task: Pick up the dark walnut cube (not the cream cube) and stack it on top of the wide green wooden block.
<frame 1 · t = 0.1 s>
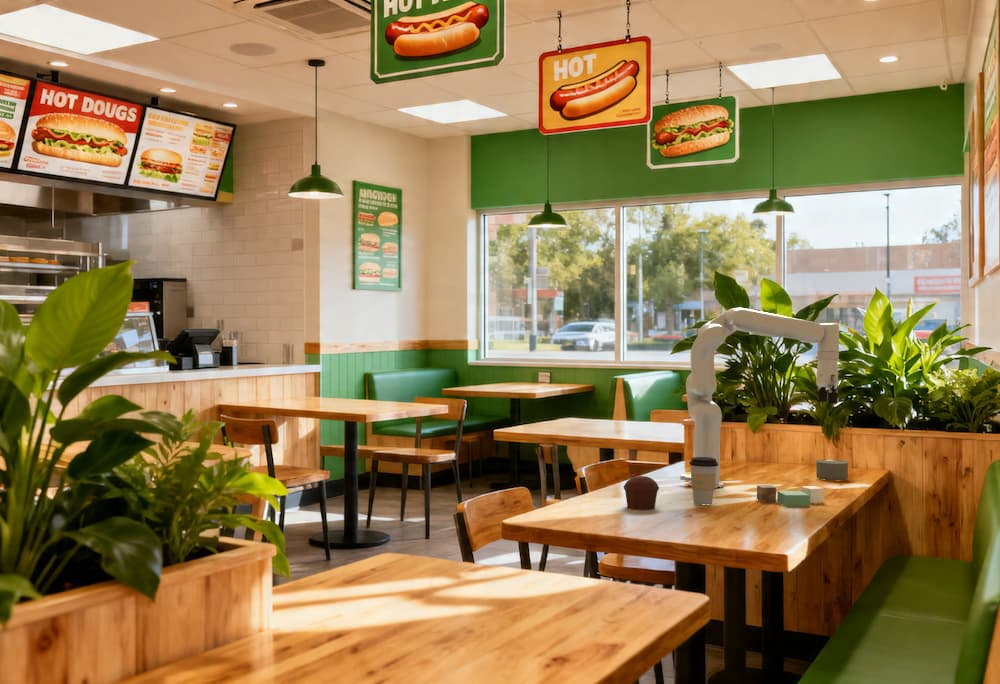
hand: (827, 402, 348), 31 cm above the table, tool pointing down, fingers open, 9 cm apart
green base: (793, 505, 312), on the table
can: (831, 479, 367), on the table
cream cube: (812, 502, 316), on the table
coffee cup: (703, 504, 311), on the table
muffin: (641, 508, 304), on the table
walnut cube: (766, 501, 318), on the table
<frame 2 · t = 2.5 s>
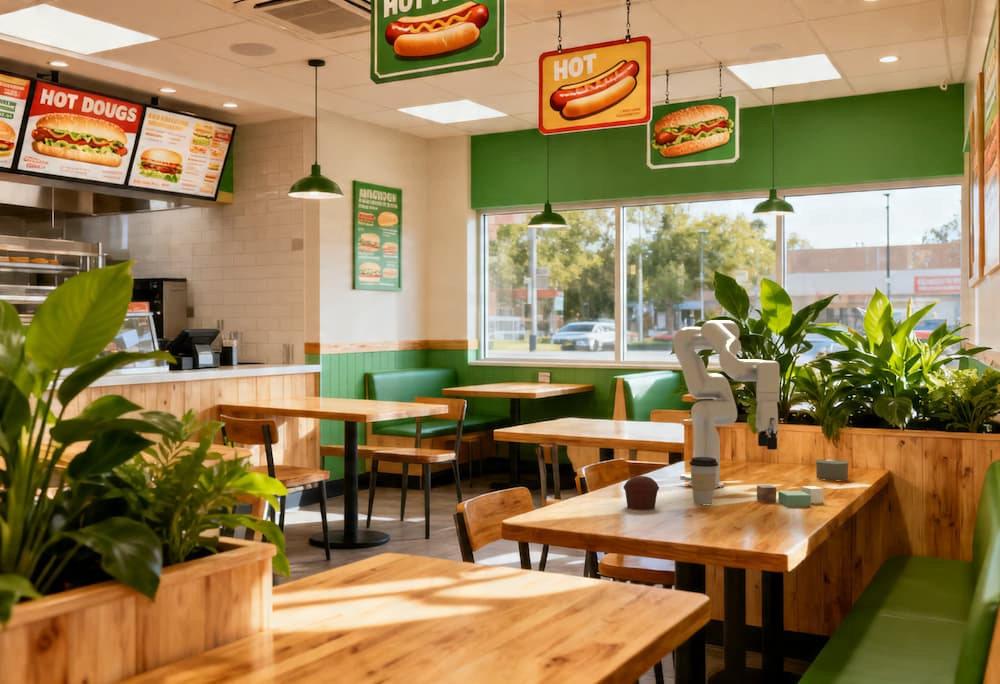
hand: (767, 447, 318), 18 cm above the table, tool pointing down, fingers open, 9 cm apart
nothing on the table moved.
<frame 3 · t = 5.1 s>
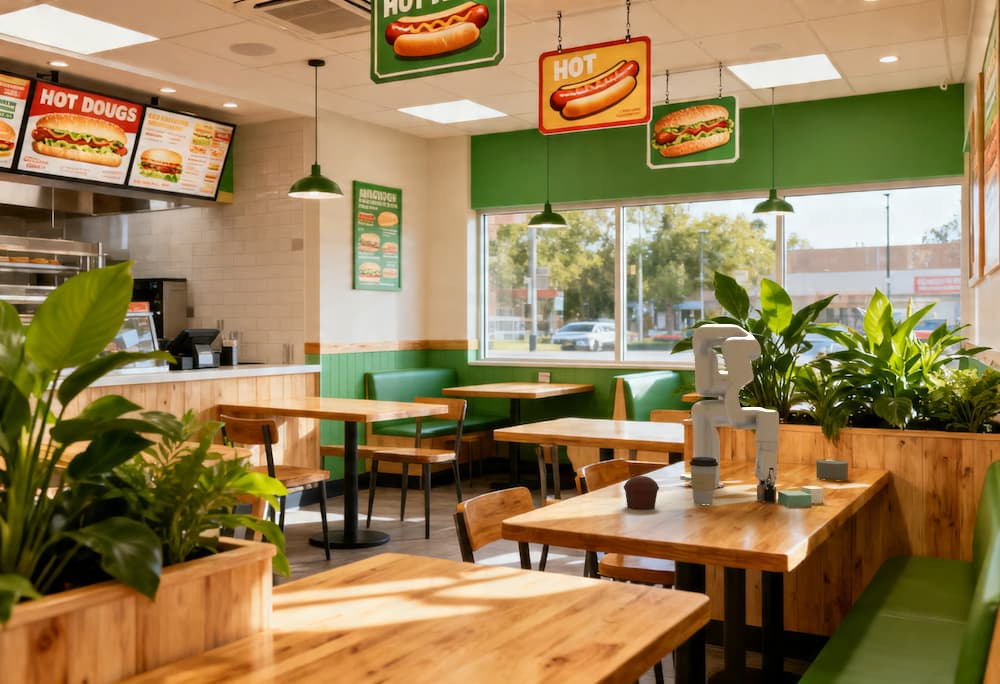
hand: (766, 499, 318), 0 cm above the table, tool pointing down, fingers closed on walnut cube, 5 cm apart
walnut cube: (766, 500, 318), on the table, touching gripper
everything else where it was.
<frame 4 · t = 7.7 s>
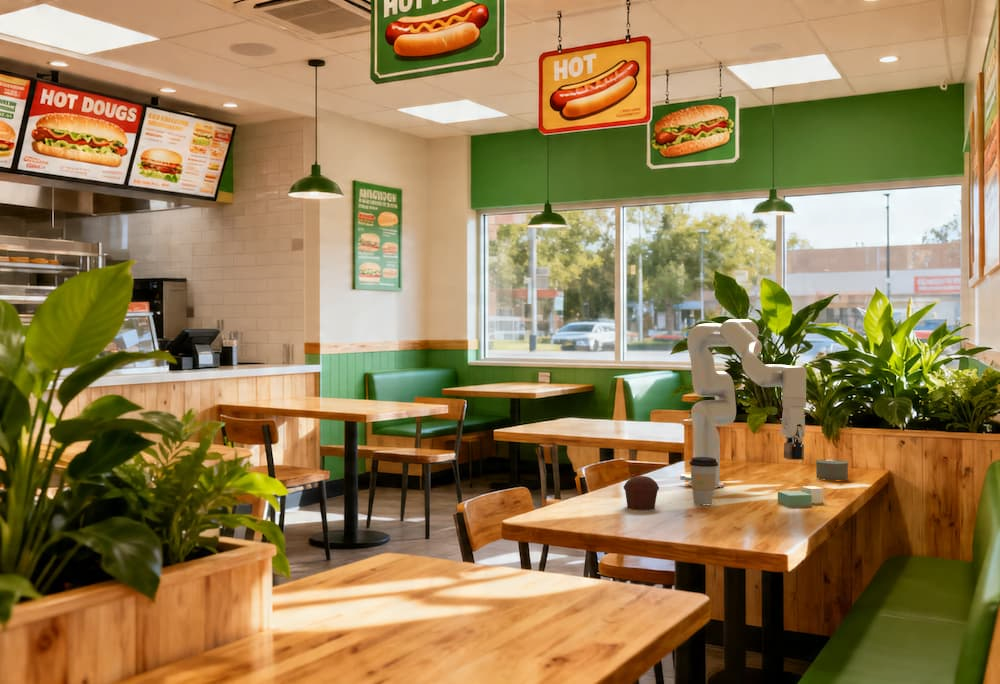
hand: (793, 457, 312), 16 cm above the table, tool pointing down, fingers closed on walnut cube, 5 cm apart
walnut cube: (793, 458, 312), point 15 cm above the table, touching gripper
everything else where it was.
when the fingers open (5 cm above the table, at t = 10.2 s): walnut cube drops 1 cm, resting on green base.
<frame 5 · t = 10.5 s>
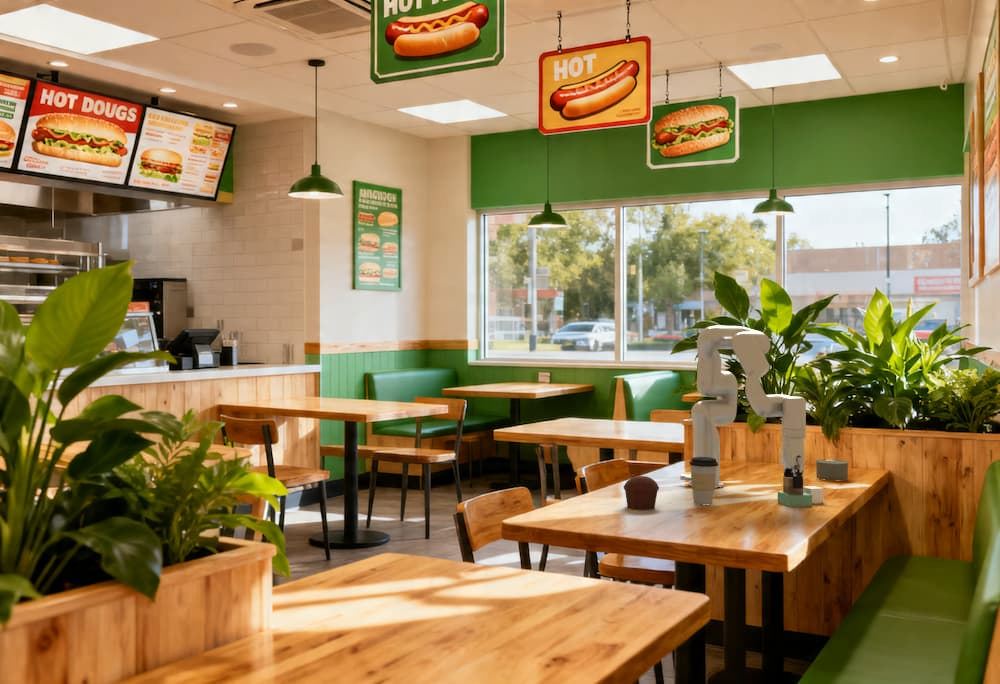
hand: (793, 485, 312), 6 cm above the table, tool pointing down, fingers open, 8 cm apart
green base: (794, 505, 312), on the table, touching walnut cube
walnut cube: (793, 493, 312), point 4 cm above the table, touching green base
everything else where it was.
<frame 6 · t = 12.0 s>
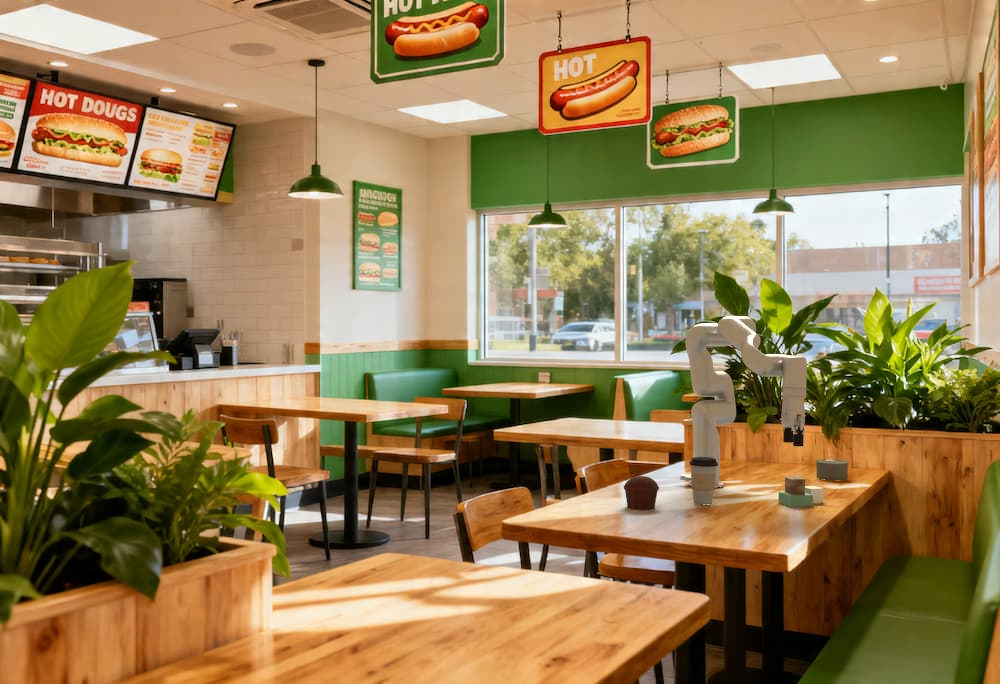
hand: (793, 444, 312), 20 cm above the table, tool pointing down, fingers open, 9 cm apart
nothing on the table moved.
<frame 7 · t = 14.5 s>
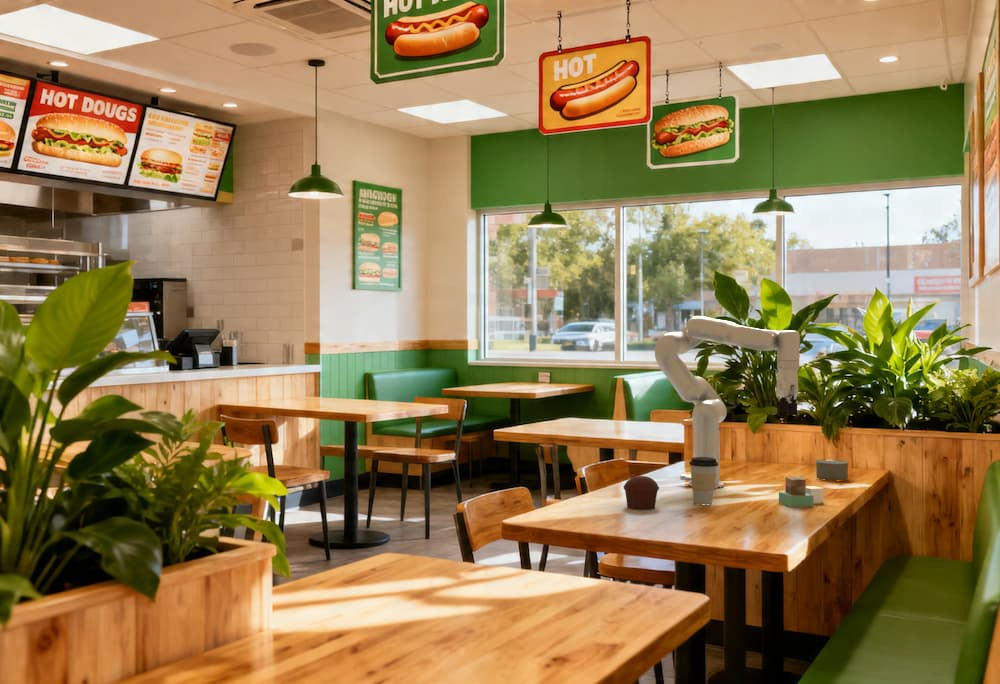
hand: (787, 413, 333), 28 cm above the table, tool pointing down, fingers open, 9 cm apart
green base: (795, 505, 311), on the table
walnut cube: (795, 493, 311), point 4 cm above the table
everything else where it was.
at the end: walnut cube 0.3 cm off-centre on the green base, point 4.0 cm above the green base's base; walnut cube tilted 0°; the gripper is holding nothing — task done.
